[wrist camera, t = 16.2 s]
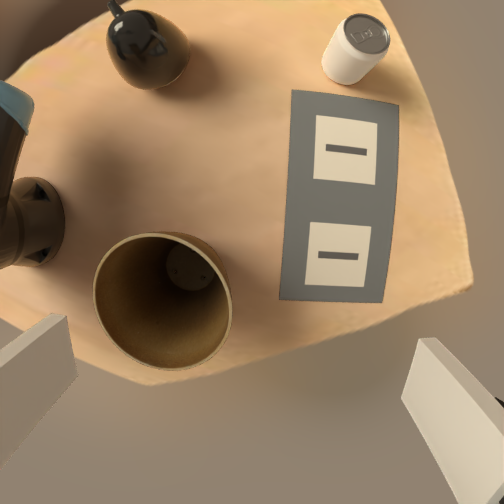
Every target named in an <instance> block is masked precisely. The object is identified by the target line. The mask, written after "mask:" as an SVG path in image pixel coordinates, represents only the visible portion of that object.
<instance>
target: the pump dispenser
mask: <svg viewBox="0 0 504 504" xmlns="http://www.w3.org/2000/svg"><path fill="white" fill-rule="evenodd" d="M107 6H108V7H109V9H110V11H111V13H112V14H113V16H114V18H115V19H114V20H113V21H112V22H111V24H110V25H109V27H108V30H107V35H106V44H107V50H108V53H109V56H110V58H111V61H112V63H113V65H114V67H115V68H116V70H117V71H118V73H119V74H120V75H121V77H122V78H123V79H124V80H125V81H126V82H127V83H128V84H130V85H131V86H133V87H135V88H138V89H143V90H151V89H157V88H160V87H164V86H166V85H168V84H170V83H172V82H173V81H175V80H176V79H177V78H178V77H179V76H180V75H181V74H182V72H183V71H184V69H185V67H186V65H187V63H188V61H189V57H190V45H189V42H188V39H187V37H186V36H185V34H184V33H183V32H182V31H181V30H180V29H179V28H178V27H177V26H176V25H175V24H174V23H172V22H171V21H170V20H168V19H166V18H165V17H163V16H161V15H159V14H157V13H154V12H151V11H148V10H142V9H134V10H129V11H126V12H125V11H124V10H123V9H122V8H121V7H120V6H119V4H118V3H117V2H116V1H115V0H111V1H109V2H108V4H107Z"/></svg>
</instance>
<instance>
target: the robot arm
mask: <svg viewBox="0 0 504 504" xmlns="http://www.w3.org/2000/svg"><path fill="white" fill-rule="evenodd" d="M33 112H34V102H33V99H32V98H31V97H30V96H29V95H28V94H26V93H25V92H23V91H21V90H20V89H18V88H16V87H14V86H12V85H10V84H8V83H6V82H3V81H1V80H0V269H3V268H5V267H7V266H10V265H15V266H25V267H34V266H38V265H41V264H43V263H46V262H48V261H49V260H50V259H52V258H53V257H54V256H55V254H56V253H57V251H58V250H59V248H60V246H61V243H62V240H63V236H64V227H65V221H64V212H63V207H62V204H61V201H60V198H59V196H58V194H57V192H56V191H55V189H54V188H53V187H52V186H51V185H50V184H49V183H48V182H47V181H45V180H44V179H41V178H38V177H24V178H20V179H17V180H15V181H14V182H13V179H14V175H15V171H16V168H17V164H18V161H19V157H20V154H21V150H22V147H23V144H24V141H25V138H26V136H27V135H28V132H29V131H28V128H29V124H30V121H31V118H32V115H33ZM77 377H78V372H77V368H76V364H75V359H74V354H73V349H72V344H71V339H70V334H69V328H68V322H67V316H64V315H59V314H53V313H51V314H50V315H48V316H47V317H45V318H44V319H42V320H41V321H40V322H38V323H37V324H35V325H34V326H33V327H31V328H30V329H28V330H27V331H26V332H24V333H23V334H21V335H20V336H19V337H17V338H16V339H14V340H13V341H12V342H11V343H9V344H8V345H6V346H5V347H4V348H3V349H1V350H0V470H1V469H2V468H3V466H4V465H5V464H6V463H7V461H8V460H9V459H10V458H11V456H12V455H13V454H14V452H15V451H16V450H17V449H18V447H19V446H20V445H21V444H22V442H23V441H24V440H25V439H26V438H27V436H28V435H29V434H30V433H31V431H32V430H33V429H34V428H35V427H36V425H37V424H38V423H39V422H40V420H41V419H42V418H43V417H44V416H45V414H46V413H47V412H48V411H49V410H50V409H51V407H52V406H53V405H54V404H55V403H56V401H57V400H58V399H59V398H60V397H61V395H62V394H63V393H64V392H65V391H66V390H67V389H68V387H69V386H70V385H71V384H72V383H73V381H74V380H75V379H76V378H77ZM401 399H402V401H403V403H404V404H405V406H406V408H407V410H408V411H409V413H410V415H411V417H412V418H413V420H414V422H415V424H416V425H417V427H418V429H419V431H420V432H421V434H422V436H423V438H424V440H425V441H426V443H427V445H428V447H429V449H430V450H431V452H432V454H433V456H434V458H435V460H436V461H437V463H438V465H439V467H440V469H441V471H442V473H443V474H444V476H445V478H446V480H447V482H448V484H449V486H450V488H451V490H452V492H453V494H454V496H455V498H456V499H457V502H458V503H459V504H498V503H500V504H504V402H503V401H501V400H499V399H498V398H496V397H495V398H494V397H493V396H492V395H491V394H490V393H489V392H488V391H487V390H486V388H484V386H483V385H482V384H481V383H480V382H479V381H478V380H477V379H476V378H475V377H474V376H473V375H472V374H471V373H470V372H469V371H468V370H467V369H466V368H465V367H464V366H463V365H462V363H461V362H460V361H459V360H458V359H457V358H455V357H454V355H452V353H451V352H450V351H449V350H448V349H447V348H446V347H445V346H444V345H443V344H442V343H441V342H439V341H438V340H437V338H435V337H433V338H419V340H418V343H417V347H416V351H415V354H414V358H413V361H412V365H411V368H410V371H409V375H408V378H407V381H406V384H405V387H404V390H403V393H402V396H401Z"/></svg>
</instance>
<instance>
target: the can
mask: <svg viewBox="0 0 504 504" xmlns="http://www.w3.org/2000/svg"><path fill="white" fill-rule="evenodd" d="M389 44H390V35H389V32H388V30H387V28H386V27H385V26H384V24H383V23H382V22H380V21H379V20H378V19H376V18H375V17H373V16H370V15H367V14H354V15H351V16H349V17H348V18H346V19H344V20H343V21H342V22H341V23H340V24H339V25H338V27H337V29H336V31H335V33H334V34H333V36H332V38H331V40H330V42H329V44H328V46H327V48H326V50H325V52H324V54H323V56H322V60H321V64H322V68H323V71H324V72H325V74H326V75H327V76H328V77H329V78H330V79H331V80H333V81H334V82H336V83H339V84H343V85H351V84H354V83H356V82H358V81H359V80H360V79H362V78H363V77H364V76H365V75H366V74H367V73H368V72H369V71H370V70H371V69H372V68H373V67H374V66H375V65H376V64H377V63H378V62H379V61H380V60H381V59H382V58H383V57H384V56H385V55H386V53H387V51H388V47H389Z"/></svg>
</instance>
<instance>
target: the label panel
mask: <svg viewBox="0 0 504 504" xmlns="http://www.w3.org/2000/svg"><path fill="white" fill-rule="evenodd" d="M398 141H399V105H395V104H390V103H385V102H380V101H374V100H369V99H363V98H357V97H350V96H344V95H336V94H329V93H321V92H312V91H302V90H292V99H291V123H290V145H289V164H288V182H287V199H286V215H285V230H284V244H283V257H282V271H281V283H280V295H279V300H299V301H324V302H359V303H382V300H383V294H384V288H385V282H386V276H387V269H388V262H389V255H390V248H391V239H392V231H393V221H394V211H395V199H396V186H397V169H398Z"/></svg>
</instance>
